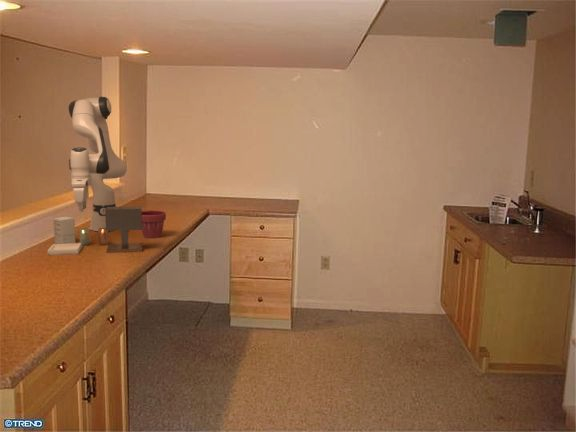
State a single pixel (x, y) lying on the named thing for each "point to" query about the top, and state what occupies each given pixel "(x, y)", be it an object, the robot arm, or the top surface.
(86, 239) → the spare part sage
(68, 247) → the tray
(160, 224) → the plant pot
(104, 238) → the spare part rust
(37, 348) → the top surface
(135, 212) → the mounted unit
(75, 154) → the robot arm
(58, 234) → the supplement box
